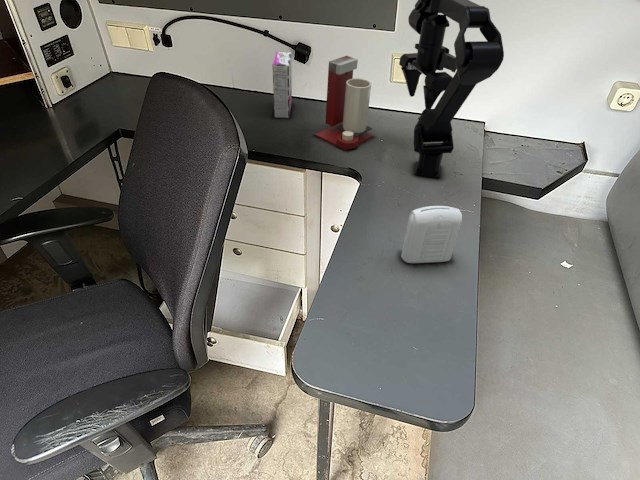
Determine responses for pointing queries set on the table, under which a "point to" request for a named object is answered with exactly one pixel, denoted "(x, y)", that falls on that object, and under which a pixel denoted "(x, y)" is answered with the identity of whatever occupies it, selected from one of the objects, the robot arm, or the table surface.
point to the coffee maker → (335, 137)
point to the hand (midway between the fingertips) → (419, 103)
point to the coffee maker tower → (339, 90)
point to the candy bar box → (282, 84)
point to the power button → (347, 136)
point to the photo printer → (431, 234)
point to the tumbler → (356, 105)
